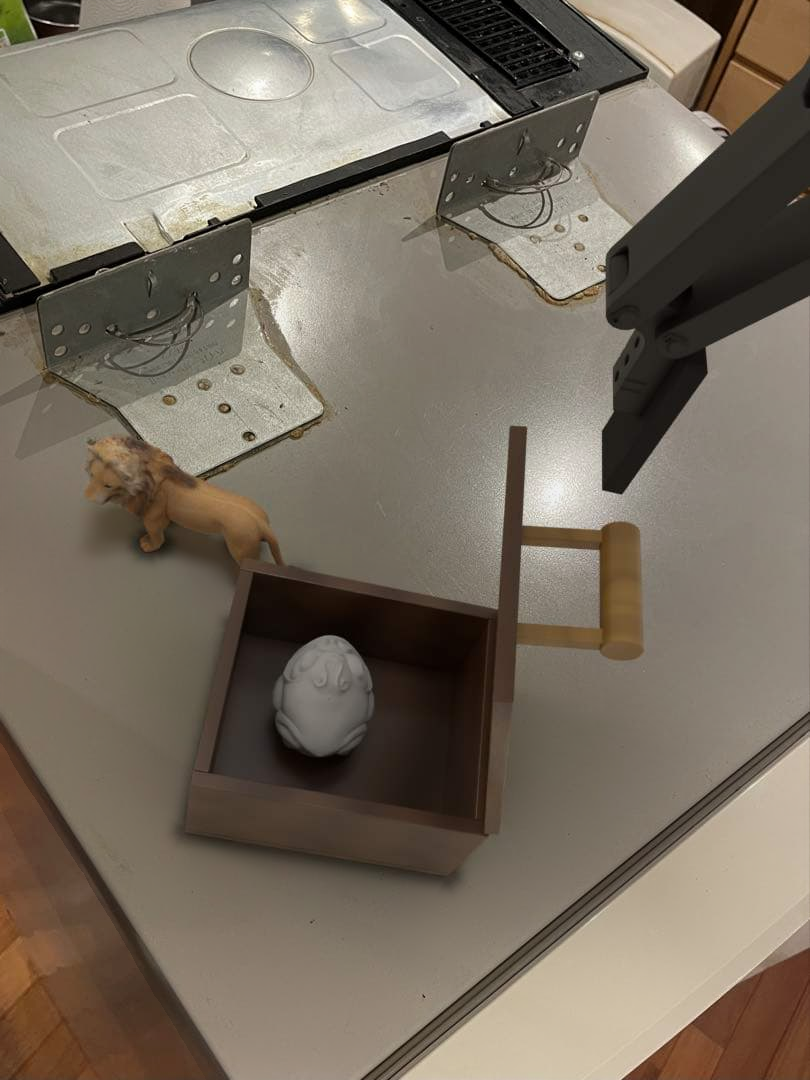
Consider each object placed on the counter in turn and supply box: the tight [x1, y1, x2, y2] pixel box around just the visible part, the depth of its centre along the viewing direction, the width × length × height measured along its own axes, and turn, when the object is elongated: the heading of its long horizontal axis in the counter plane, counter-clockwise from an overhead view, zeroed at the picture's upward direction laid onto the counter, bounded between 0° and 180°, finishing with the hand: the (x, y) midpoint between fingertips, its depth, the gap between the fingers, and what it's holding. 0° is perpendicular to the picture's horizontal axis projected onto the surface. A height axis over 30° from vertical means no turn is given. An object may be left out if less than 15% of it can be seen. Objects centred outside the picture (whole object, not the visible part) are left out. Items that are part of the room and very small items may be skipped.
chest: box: [184, 558, 498, 877], centre depth 58 cm, size 16×14×9 cm
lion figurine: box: [82, 433, 305, 570], centre depth 63 cm, size 15×5×9 cm, turn 79°
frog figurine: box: [271, 635, 375, 757], centre depth 58 cm, size 6×7×7 cm
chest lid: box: [484, 425, 645, 836], centre depth 48 cm, size 16×14×6 cm
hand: (762, 496), depth 36 cm, fingers open, 11 cm apart
